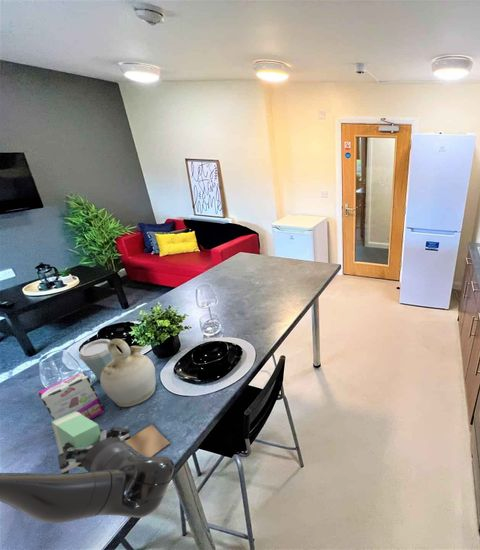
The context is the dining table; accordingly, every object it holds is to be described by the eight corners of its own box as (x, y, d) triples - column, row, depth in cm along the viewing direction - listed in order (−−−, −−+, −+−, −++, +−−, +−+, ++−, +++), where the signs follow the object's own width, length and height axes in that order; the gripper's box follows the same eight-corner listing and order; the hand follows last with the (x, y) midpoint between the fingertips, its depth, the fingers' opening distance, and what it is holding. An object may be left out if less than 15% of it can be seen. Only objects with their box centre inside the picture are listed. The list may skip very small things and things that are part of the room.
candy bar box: (100, 405, 104) (83, 370, 97) (105, 412, 101) (89, 376, 94) (57, 428, 95) (36, 391, 88) (62, 436, 93) (40, 398, 86)
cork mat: (125, 476, 82) (125, 475, 82) (108, 453, 88) (107, 452, 88) (170, 443, 92) (169, 442, 92) (151, 424, 97) (151, 424, 97)
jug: (147, 373, 118) (129, 322, 108) (168, 389, 112) (151, 336, 101) (101, 398, 106) (76, 343, 96) (122, 418, 99) (97, 361, 89)
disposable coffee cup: (129, 375, 117) (117, 345, 111) (94, 390, 109) (79, 359, 103) (121, 363, 123) (109, 334, 117) (88, 377, 115) (73, 346, 109)
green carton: (81, 472, 73) (72, 436, 71) (59, 454, 79) (50, 421, 78) (106, 457, 78) (98, 424, 76) (83, 442, 84) (76, 410, 82)
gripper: (143, 426, 74) (111, 410, 82) (67, 468, 62) (38, 445, 70) (148, 452, 75) (116, 434, 83) (75, 498, 63) (45, 472, 71)
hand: (81, 439), depth 76 cm, fingers closed on green carton, 5 cm apart
